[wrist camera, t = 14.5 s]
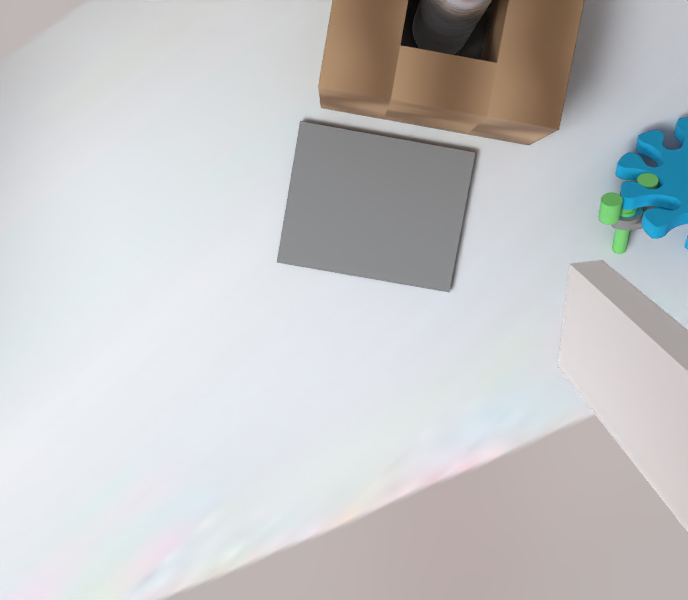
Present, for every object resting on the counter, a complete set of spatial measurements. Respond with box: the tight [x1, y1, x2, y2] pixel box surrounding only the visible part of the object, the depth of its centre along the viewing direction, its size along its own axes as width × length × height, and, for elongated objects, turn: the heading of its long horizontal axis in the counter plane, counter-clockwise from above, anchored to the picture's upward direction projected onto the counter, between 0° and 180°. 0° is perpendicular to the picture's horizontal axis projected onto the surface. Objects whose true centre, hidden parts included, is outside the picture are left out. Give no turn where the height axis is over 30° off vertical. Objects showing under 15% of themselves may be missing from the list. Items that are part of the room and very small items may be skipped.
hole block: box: [318, 0, 584, 145], centre depth 34 cm, size 12×10×5 cm
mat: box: [277, 121, 475, 292], centre depth 37 cm, size 10×8×1 cm
